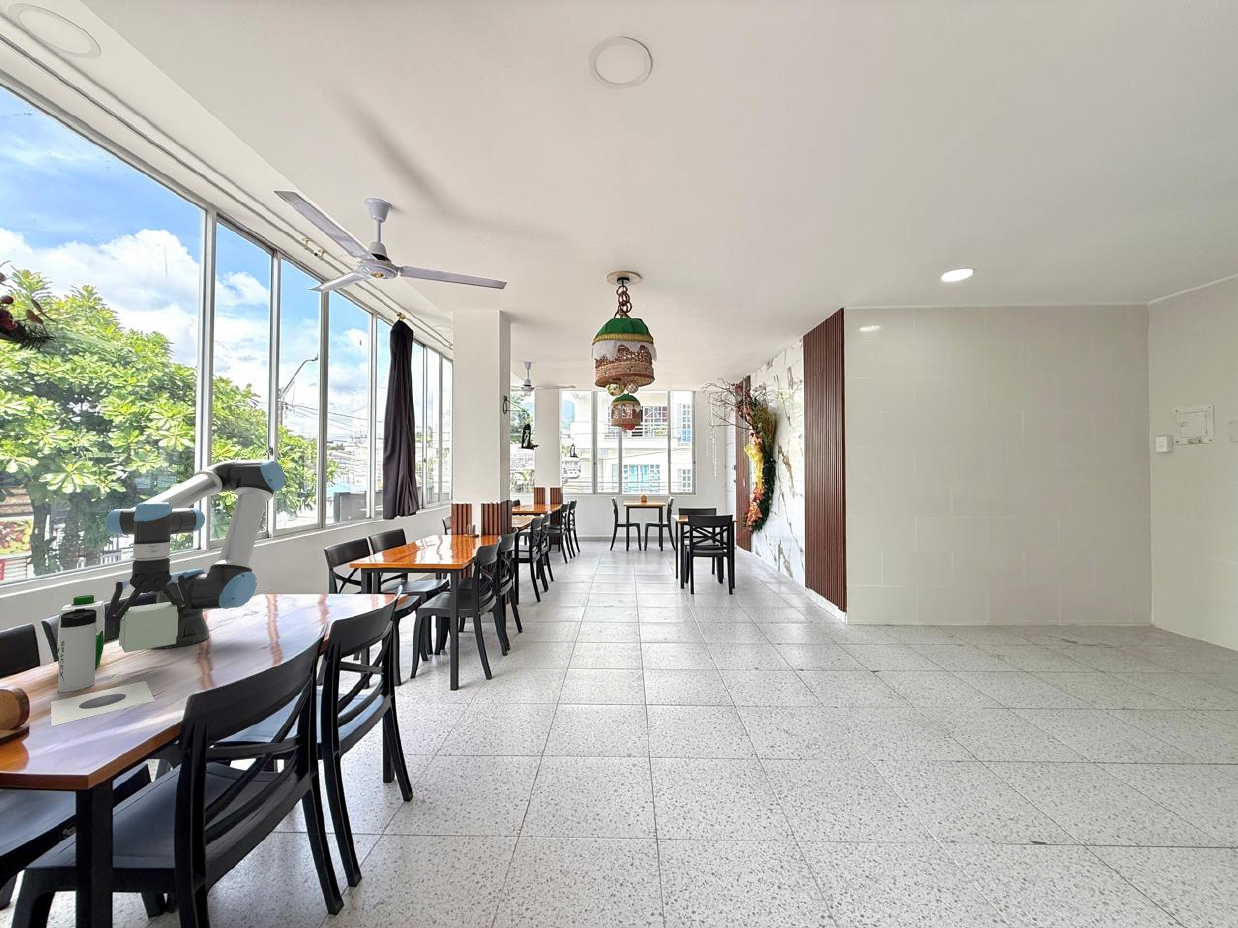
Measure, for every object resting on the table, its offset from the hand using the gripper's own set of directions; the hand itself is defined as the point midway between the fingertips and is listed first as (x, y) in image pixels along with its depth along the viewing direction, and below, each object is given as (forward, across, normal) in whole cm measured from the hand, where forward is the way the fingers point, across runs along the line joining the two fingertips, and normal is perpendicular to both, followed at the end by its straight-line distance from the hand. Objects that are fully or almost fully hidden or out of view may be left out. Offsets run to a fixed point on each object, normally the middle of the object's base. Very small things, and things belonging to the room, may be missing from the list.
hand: (148, 639), depth 136 cm
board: (+9, -9, -19) cm, 23 cm away
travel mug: (+10, -13, -1) cm, 16 cm away
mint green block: (+1, 0, 0) cm, 1 cm away
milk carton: (+9, -12, +20) cm, 25 cm away
